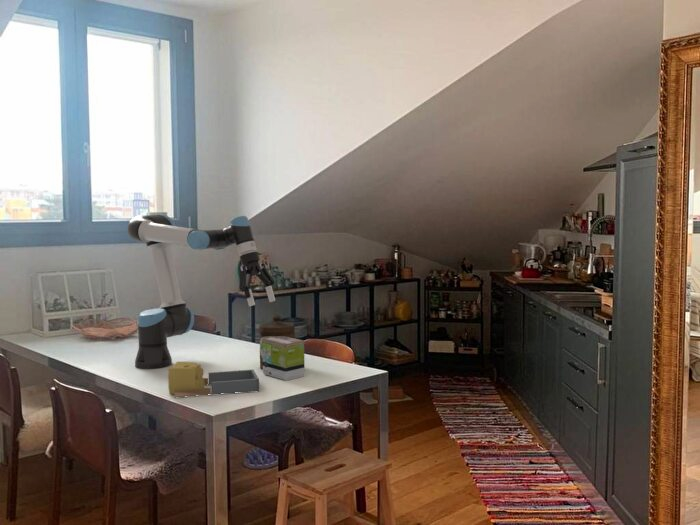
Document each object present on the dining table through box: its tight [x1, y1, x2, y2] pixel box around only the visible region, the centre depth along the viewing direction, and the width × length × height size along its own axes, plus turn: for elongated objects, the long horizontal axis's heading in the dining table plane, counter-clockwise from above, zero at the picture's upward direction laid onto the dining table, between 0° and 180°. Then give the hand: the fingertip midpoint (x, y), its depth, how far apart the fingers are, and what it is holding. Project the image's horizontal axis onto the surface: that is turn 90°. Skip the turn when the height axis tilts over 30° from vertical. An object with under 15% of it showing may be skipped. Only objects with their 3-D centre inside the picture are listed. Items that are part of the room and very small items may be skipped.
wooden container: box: [258, 314, 296, 371], centre depth 293 cm, size 15×15×22 cm
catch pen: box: [207, 369, 260, 395], centre depth 262 cm, size 16×17×4 cm
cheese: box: [167, 361, 206, 395], centre depth 257 cm, size 10×11×10 cm
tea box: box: [262, 336, 306, 381], centre depth 279 cm, size 15×10×15 cm
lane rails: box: [174, 377, 212, 398], centre depth 258 cm, size 16×12×2 cm
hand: (262, 303), depth 286 cm, fingers open, 13 cm apart
